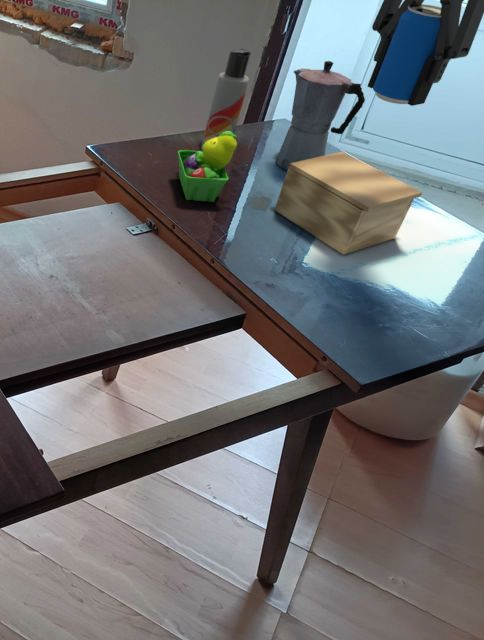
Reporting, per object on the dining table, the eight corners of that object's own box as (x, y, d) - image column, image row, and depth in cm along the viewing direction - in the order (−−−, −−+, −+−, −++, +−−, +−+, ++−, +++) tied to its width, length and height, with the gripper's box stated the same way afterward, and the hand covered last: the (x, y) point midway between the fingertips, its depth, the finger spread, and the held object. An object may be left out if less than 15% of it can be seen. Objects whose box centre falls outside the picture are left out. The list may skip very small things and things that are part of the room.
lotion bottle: (215, 159, 137) (243, 56, 124) (194, 149, 140) (219, 47, 127) (234, 153, 139) (263, 51, 126) (213, 143, 143) (239, 42, 130)
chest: (393, 242, 116) (415, 195, 110) (341, 258, 111) (362, 210, 105) (323, 200, 126) (340, 155, 120) (272, 213, 121) (288, 167, 115)
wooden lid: (420, 196, 110) (422, 192, 109) (367, 212, 105) (369, 207, 104) (340, 155, 120) (342, 151, 120) (288, 167, 115) (290, 163, 115)
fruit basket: (171, 174, 131) (184, 116, 123) (217, 177, 131) (233, 120, 123) (179, 203, 122) (193, 143, 115) (229, 207, 122) (246, 147, 115)
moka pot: (281, 146, 143) (313, 47, 130) (347, 175, 135) (389, 72, 122) (254, 157, 139) (284, 55, 125) (321, 188, 130) (361, 82, 117)
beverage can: (394, 87, 104) (429, 2, 96) (427, 104, 100) (467, 15, 92) (361, 91, 102) (394, 4, 94) (393, 108, 98) (431, 17, 90)
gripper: (388, -103, 90) (326, 75, 105) (528, -73, 78) (436, 123, 93) (424, -103, 93) (359, 69, 108) (566, -75, 81) (470, 116, 96)
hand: (395, 94), depth 101 cm, fingers closed on beverage can, 6 cm apart
